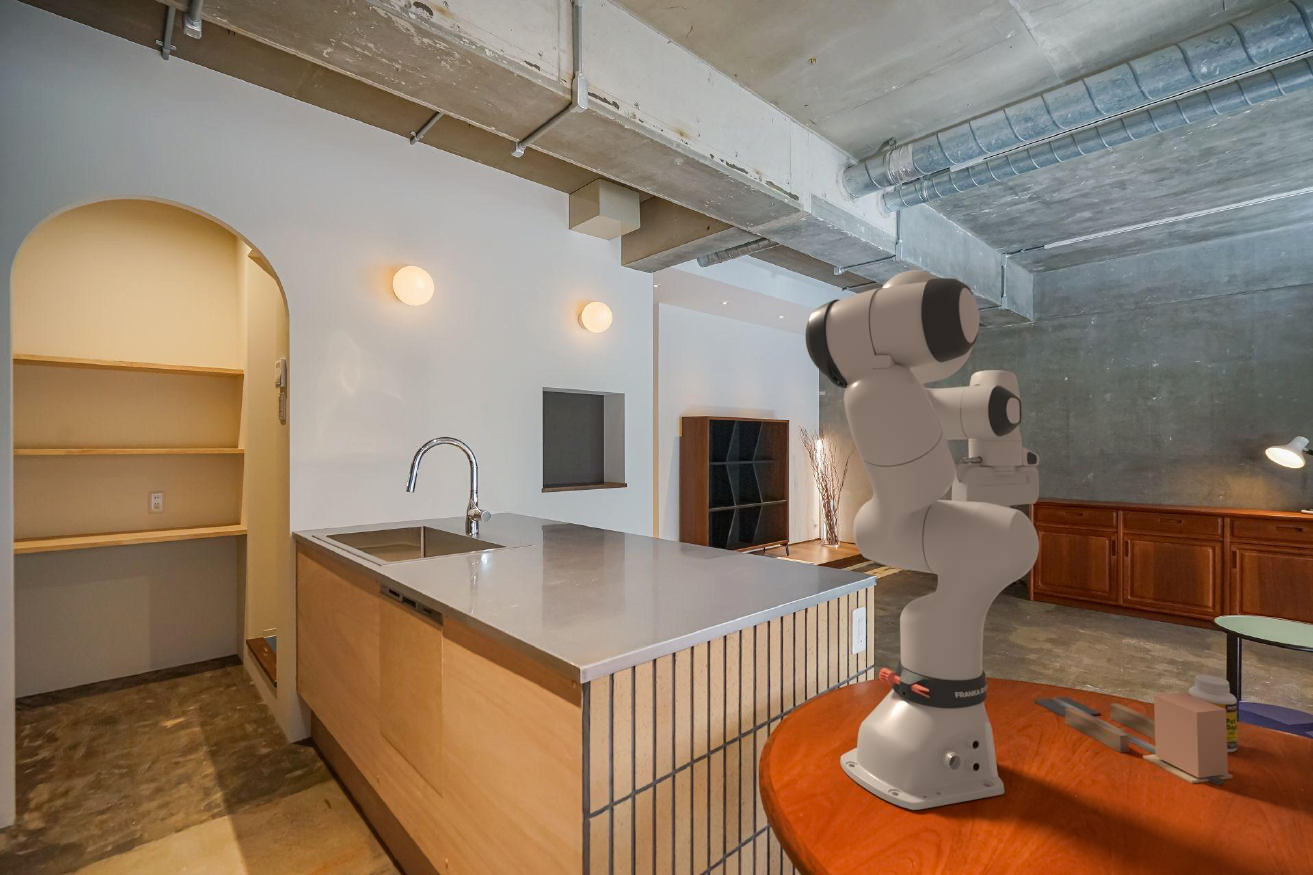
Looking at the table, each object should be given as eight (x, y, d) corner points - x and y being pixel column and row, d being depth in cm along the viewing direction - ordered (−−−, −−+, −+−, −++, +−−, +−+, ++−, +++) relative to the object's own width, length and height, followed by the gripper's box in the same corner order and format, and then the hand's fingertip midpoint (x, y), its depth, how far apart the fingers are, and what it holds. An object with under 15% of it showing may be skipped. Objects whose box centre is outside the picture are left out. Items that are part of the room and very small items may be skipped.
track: (1028, 703, 110) (1027, 689, 110) (1077, 698, 112) (1077, 685, 112) (1189, 788, 82) (1188, 770, 82) (1251, 780, 84) (1250, 762, 84)
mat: (1142, 757, 91) (1142, 755, 91) (1181, 752, 92) (1181, 751, 92) (1191, 783, 84) (1191, 780, 84) (1232, 777, 85) (1232, 775, 85)
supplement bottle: (1231, 757, 90) (1230, 688, 91) (1184, 742, 95) (1182, 677, 95) (1243, 747, 93) (1241, 680, 94) (1196, 733, 98) (1194, 669, 98)
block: (1155, 756, 90) (1154, 695, 90) (1183, 752, 91) (1181, 692, 91) (1198, 777, 84) (1196, 712, 84) (1227, 773, 85) (1226, 709, 85)
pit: (1034, 701, 111) (1034, 699, 111) (1066, 698, 112) (1066, 696, 112) (1066, 718, 104) (1066, 716, 104) (1101, 714, 105) (1101, 712, 105)
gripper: (972, 457, 107) (974, 535, 107) (1045, 455, 116) (1046, 528, 115) (942, 457, 113) (943, 531, 112) (1013, 455, 121) (1015, 524, 121)
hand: (996, 529), depth 114 cm, fingers closed
